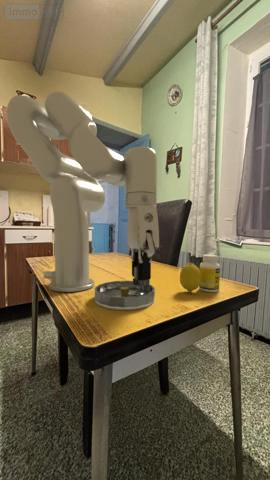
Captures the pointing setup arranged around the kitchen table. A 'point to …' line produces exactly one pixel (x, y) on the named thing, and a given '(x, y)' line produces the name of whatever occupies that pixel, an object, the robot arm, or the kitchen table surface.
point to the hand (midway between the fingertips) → (141, 277)
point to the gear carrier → (124, 296)
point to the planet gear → (138, 282)
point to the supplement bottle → (210, 274)
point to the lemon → (190, 277)
